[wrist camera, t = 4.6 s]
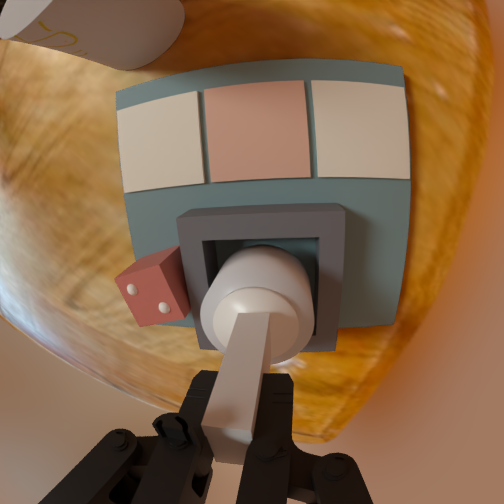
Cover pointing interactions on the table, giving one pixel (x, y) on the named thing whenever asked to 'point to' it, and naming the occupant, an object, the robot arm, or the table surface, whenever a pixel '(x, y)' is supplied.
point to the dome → (261, 299)
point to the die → (156, 288)
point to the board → (275, 178)
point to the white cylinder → (96, 28)
